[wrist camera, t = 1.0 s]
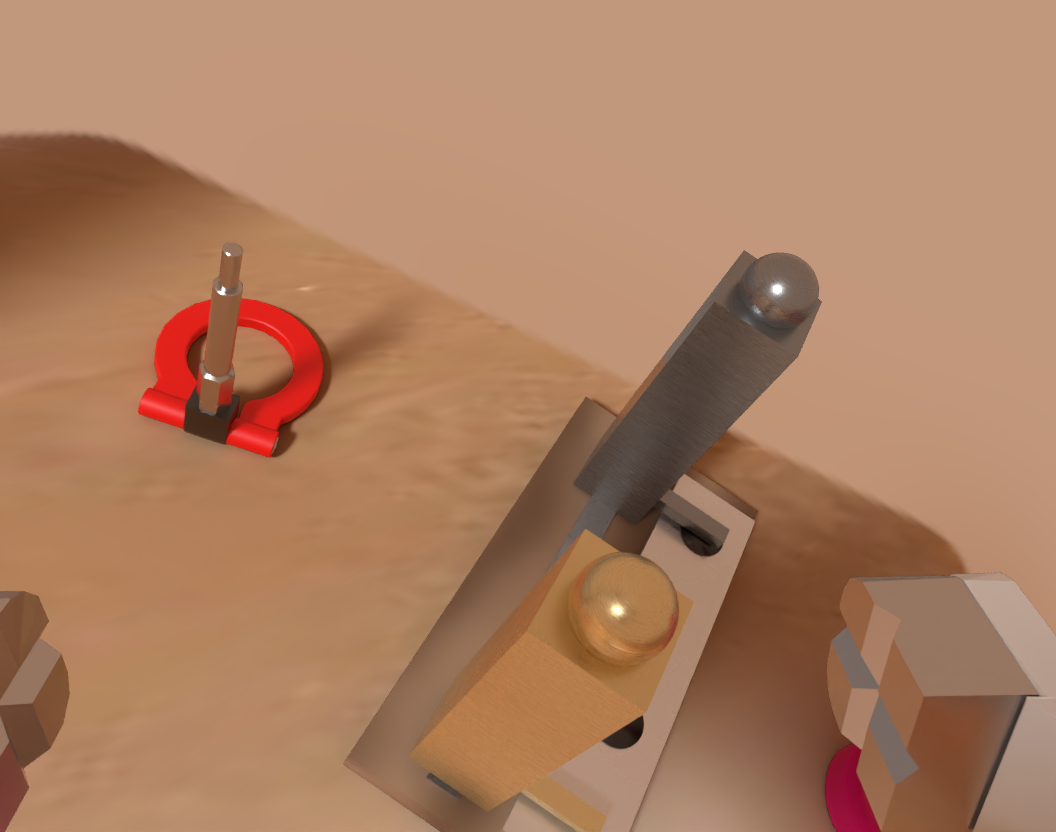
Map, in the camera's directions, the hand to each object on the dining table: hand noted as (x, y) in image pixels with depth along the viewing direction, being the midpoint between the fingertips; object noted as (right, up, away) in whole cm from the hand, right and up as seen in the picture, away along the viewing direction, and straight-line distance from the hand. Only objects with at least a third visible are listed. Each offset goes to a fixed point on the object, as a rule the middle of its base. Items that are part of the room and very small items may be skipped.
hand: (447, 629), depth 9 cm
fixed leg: (+8, -3, +40) cm, 40 cm away
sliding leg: (0, -13, +28) cm, 31 cm away
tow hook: (-15, +4, +37) cm, 40 cm away
